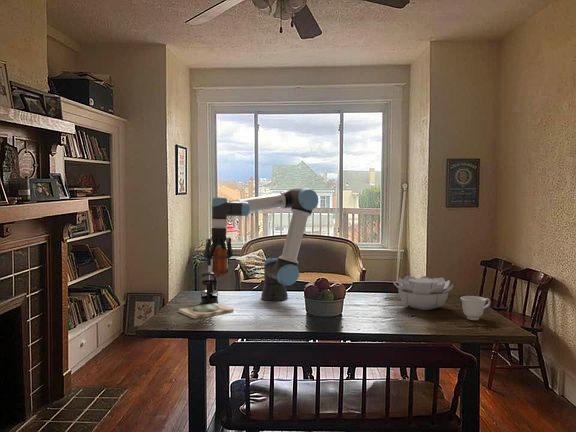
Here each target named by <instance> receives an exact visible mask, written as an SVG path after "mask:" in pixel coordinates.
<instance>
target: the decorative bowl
mask: <svg viewBox="0 0 576 432" xmlns="http://www.w3.org/2000/svg"><path fill="white" fill-rule="evenodd" d="M392 282H393V283H392V284H393V285H394V287H396V288H397V291H398V296H399V298H400V299H401V301H402V302H403V304H404V305H407V306H408V307H411V308H412V309H417V310H422V311H423V310H426V311H428V310H433V309H437V308H440V307H442V306H443V305H444V304H445V302H446V301H447V299H448V297H449V292H450V291H452V290H453V289H454V283H452V284H451V285H450V283H451V281H450V280H447V281H446V280H445V278H444V277H438V278H437V277H434V278H430V277H428V276H426V275H423V276H420V277H414V276H410V275H406V276H404V277H403V278H401V277H398V278H397V283H396V281H395V280H394V279H393V280H392Z"/></svg>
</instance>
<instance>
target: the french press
mask: <svg viewBox="0 0 576 432" xmlns="http://www.w3.org/2000/svg"><path fill="white" fill-rule="evenodd" d="M205 263H206V264H207V261H205ZM200 274H201V277H202V278H204V277H206V276H208V279H204V280H200V300H201V301H200V305H207V304H213V303H217V304H219V300H218V298H219V297H218V296H219V294H218V293H219V292H218V291H219V290H218V288H219V286H218V284H219V283H218V282H219V281H218V280H216V279H211V277H212V278H216V277H215V276H214V273H213V271H212V272H208V270H207V271H201V272H200ZM203 286H206V289H205V290H203ZM213 286H216V289H214V288H213ZM214 294H216V295H214Z"/></svg>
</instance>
